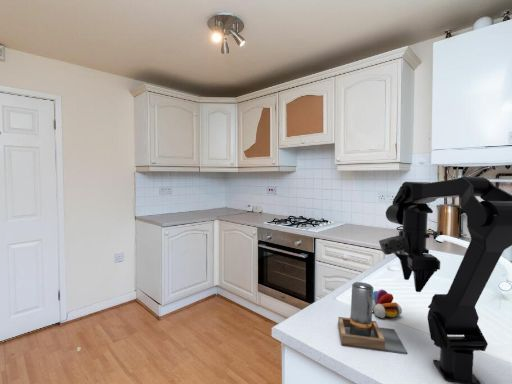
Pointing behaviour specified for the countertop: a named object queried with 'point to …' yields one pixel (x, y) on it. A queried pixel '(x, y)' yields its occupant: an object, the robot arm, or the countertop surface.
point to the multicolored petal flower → (385, 304)
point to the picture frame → (371, 338)
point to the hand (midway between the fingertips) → (411, 285)
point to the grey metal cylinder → (361, 309)
